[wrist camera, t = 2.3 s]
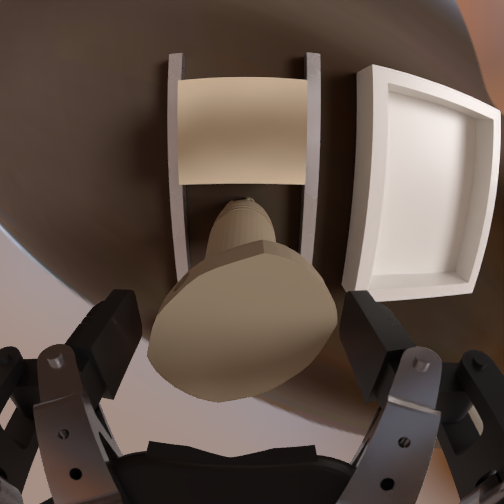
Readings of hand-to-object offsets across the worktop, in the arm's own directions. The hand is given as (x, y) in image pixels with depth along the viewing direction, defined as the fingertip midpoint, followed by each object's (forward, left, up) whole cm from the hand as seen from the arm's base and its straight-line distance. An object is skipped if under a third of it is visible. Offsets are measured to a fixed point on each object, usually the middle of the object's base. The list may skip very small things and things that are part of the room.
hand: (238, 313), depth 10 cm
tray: (-3, +16, -13) cm, 21 cm away
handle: (0, 0, -13) cm, 13 cm away
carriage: (-7, 0, -13) cm, 15 cm away
